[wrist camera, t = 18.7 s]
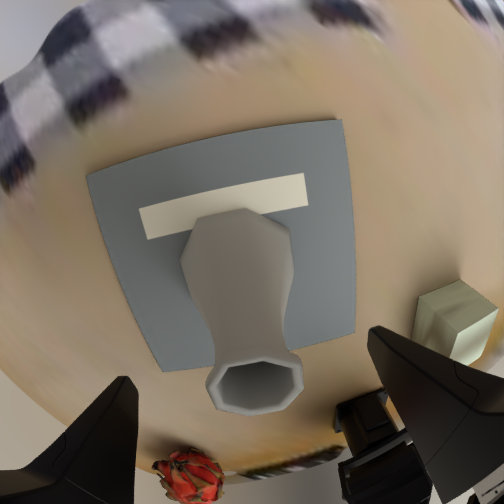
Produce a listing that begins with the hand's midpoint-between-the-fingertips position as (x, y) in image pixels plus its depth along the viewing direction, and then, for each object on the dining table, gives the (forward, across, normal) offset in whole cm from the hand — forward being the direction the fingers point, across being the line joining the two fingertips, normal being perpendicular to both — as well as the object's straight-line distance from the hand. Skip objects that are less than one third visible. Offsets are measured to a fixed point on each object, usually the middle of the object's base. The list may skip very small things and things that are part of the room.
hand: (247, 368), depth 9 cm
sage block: (+10, -18, +10) cm, 23 cm away
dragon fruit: (+10, +12, +26) cm, 30 cm away
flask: (+9, 0, 0) cm, 9 cm away
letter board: (+10, 0, 0) cm, 10 cm away
